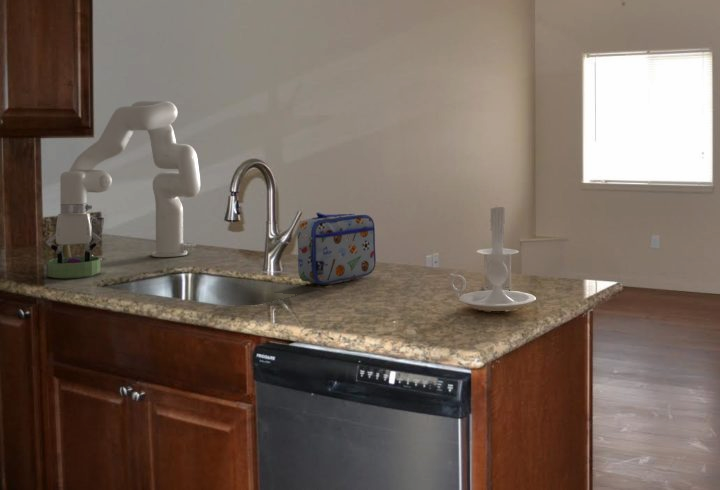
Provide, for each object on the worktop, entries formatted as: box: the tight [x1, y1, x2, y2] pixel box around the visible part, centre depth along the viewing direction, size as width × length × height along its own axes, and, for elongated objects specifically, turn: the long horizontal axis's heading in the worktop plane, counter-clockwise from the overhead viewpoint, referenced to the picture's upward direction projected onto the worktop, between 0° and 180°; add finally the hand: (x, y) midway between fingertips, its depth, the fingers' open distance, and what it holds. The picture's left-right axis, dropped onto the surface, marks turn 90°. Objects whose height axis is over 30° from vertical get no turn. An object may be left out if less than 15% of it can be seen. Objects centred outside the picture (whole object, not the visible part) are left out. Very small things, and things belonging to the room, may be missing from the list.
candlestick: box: [448, 205, 537, 313], centre depth 212 cm, size 21×25×28 cm
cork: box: [53, 239, 72, 259], centre depth 272 cm, size 6×6×11 cm
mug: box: [482, 247, 513, 291], centre depth 237 cm, size 12×8×12 cm
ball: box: [66, 258, 82, 263], centre depth 257 cm, size 5×5×5 cm
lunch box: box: [296, 212, 377, 286], centre depth 250 cm, size 28×10×22 cm, turn 144°
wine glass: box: [89, 216, 105, 261], centre depth 288 cm, size 8×8×15 cm
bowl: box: [46, 255, 102, 280], centre depth 257 cm, size 15×15×5 cm
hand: (73, 263), depth 257 cm, fingers open, 6 cm apart
